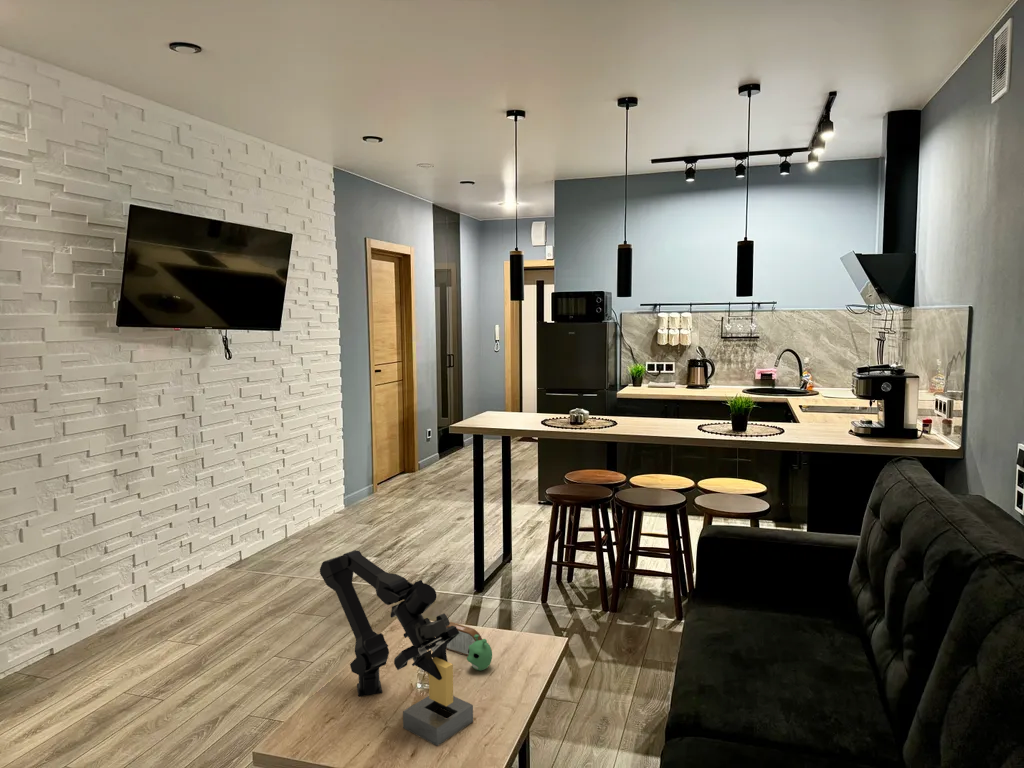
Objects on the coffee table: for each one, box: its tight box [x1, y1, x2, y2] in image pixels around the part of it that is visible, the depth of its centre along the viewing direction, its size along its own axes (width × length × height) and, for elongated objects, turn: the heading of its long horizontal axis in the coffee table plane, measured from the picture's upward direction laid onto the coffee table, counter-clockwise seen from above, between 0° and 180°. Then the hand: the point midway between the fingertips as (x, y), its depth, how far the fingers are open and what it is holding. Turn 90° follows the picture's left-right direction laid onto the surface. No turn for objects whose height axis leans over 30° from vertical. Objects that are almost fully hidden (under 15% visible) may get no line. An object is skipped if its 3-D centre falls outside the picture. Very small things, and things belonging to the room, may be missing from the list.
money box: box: [402, 695, 474, 747], centre depth 178 cm, size 12×13×4 cm
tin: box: [446, 621, 483, 656], centre depth 216 cm, size 15×3×8 cm, turn 58°
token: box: [428, 657, 454, 706], centre depth 177 cm, size 6×2×10 cm, turn 51°
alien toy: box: [466, 634, 493, 671], centre depth 206 cm, size 7×8×10 cm
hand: (444, 677), depth 176 cm, fingers closed on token, 2 cm apart
